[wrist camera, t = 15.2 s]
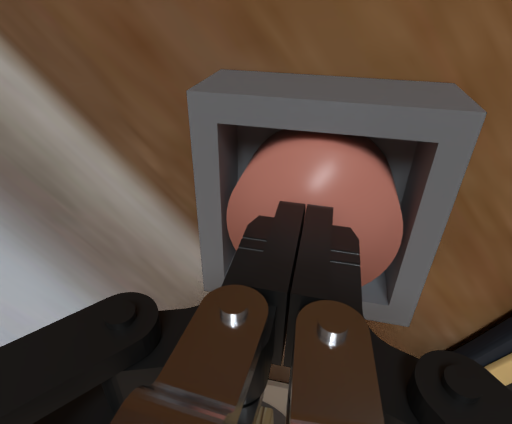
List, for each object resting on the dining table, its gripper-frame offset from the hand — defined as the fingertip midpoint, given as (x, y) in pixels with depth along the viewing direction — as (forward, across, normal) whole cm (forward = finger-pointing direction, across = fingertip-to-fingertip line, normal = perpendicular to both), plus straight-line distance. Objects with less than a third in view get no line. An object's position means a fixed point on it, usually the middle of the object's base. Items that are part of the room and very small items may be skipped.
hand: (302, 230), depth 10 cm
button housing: (+3, 0, 0) cm, 3 cm away
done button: (+2, 0, 0) cm, 2 cm away
